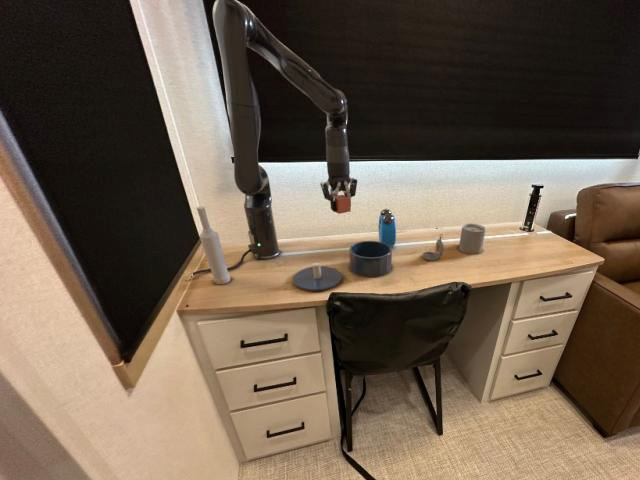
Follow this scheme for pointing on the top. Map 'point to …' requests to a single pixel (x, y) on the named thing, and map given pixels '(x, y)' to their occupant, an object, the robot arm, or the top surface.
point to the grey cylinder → (472, 238)
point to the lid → (317, 277)
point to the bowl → (370, 258)
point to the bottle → (213, 250)
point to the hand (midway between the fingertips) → (341, 209)
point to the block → (342, 204)
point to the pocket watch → (439, 251)
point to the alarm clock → (387, 228)
